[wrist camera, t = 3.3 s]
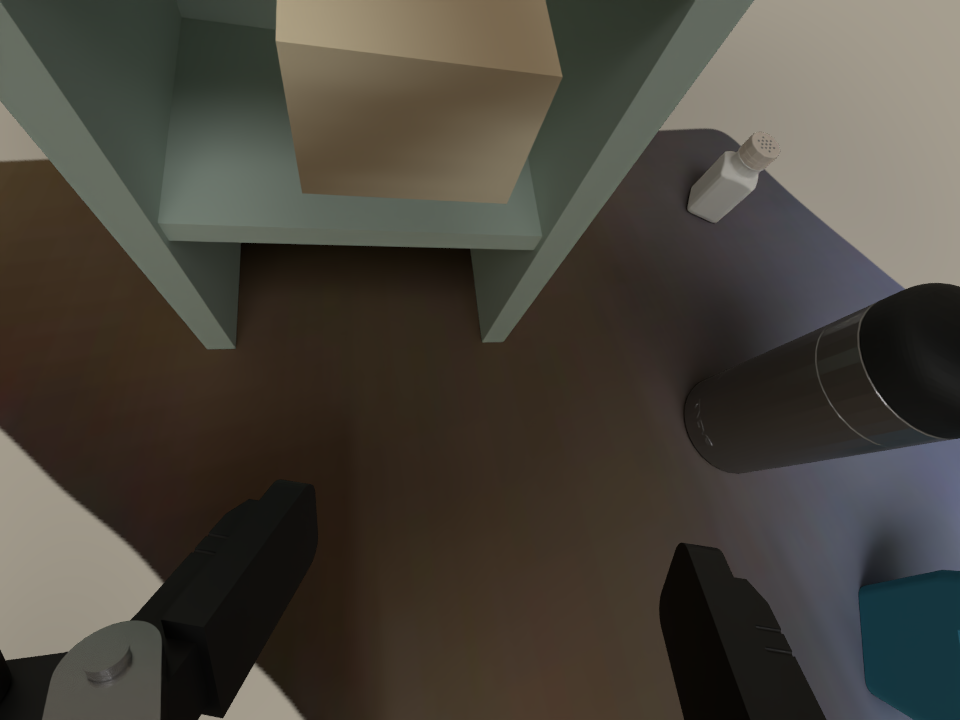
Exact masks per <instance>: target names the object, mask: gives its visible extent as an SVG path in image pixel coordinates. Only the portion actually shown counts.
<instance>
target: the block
mask: <svg viewBox="0 0 960 720" xmlns="http://www.w3.org/2000/svg"><path fill="white" fill-rule="evenodd" d="M859 606H860V619H861V632H862V644H863V657H864V670H865V681H866V685H867V687H868V689H869V691H870V692H871V693H872V694H873V695H875V696H876V697H878V698H879V699H881V700H883V701H884V702H886V703H888V704H889V705H891V706H892V707H894V708H896V709H897V710H899V711H901V712H902V713H904V714H905V715H907V716H909V717H910V718H912V719H914V720H960V571H950V570H940V571H935V572H930V573H925V574H920V575H915V576H910V577H905V578H900V579H895V580H890V581H886V582H881V583H876V584H871V585H866V586H862V587H861V588H860V590H859Z"/></svg>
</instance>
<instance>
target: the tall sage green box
mask: <svg viewBox="0 0 960 720" xmlns="http://www.w3.org/2000/svg"><path fill="white" fill-rule="evenodd" d="M545 1H546V5H547V10H548V14H549V19H550V23H551V28H552V32H553V36H554V41H555V45H556V50H557V54H558V59H559V63H560V67H561V72H562V76H563V77H562V80H561V82H560V84H559V86H558V89H557V91H556V93H555V95H554V98H553V100H552V102H551V105H550V107H549V109H548V111H547V114H546V116H545V118H544V121H543V123H542V125H541V127H540V130H539V132H538V134H537V137H536V139H535V141H534V143H533V146H532V148H531V150H530V152H529V155H528V157H527V159H526V162H525V164H524V166H523V168H522V171H521V173H520V175H519V178H518V180H517V182H516V184H515V187H514V189H513V191H512V194H511V196H510V198H509V200H508V203H507V204H498V203H479V202H459V201H440V200H420V199H401V198H381V197H362V196H342V195H323V194H303V193H302V189H301V184H300V178H299V172H298V166H297V161H296V155H295V149H294V144H293V138H292V132H291V126H290V121H289V115H288V109H287V104H286V98H285V92H284V86H283V81H282V75H281V69H280V64H279V58H278V52H277V46H276V7H277V0H0V101H1V102H2V103H3V105H4V106H5V107H6V108H7V110H8V111H9V112H10V113H11V114H12V116H13V117H14V118H15V119H16V120H17V122H18V123H19V124H20V125H21V126H22V127H23V129H24V130H25V131H26V132H27V134H28V135H29V136H30V137H31V138H32V140H33V141H34V142H35V143H36V144H37V146H38V147H39V148H40V149H41V150H42V151H43V152H44V154H45V155H46V156H47V157H48V159H49V160H50V161H51V162H52V163H53V165H54V166H55V167H56V168H57V169H58V171H59V172H60V173H61V174H62V175H63V177H64V178H65V179H66V180H67V181H68V183H69V184H70V185H71V186H72V187H73V189H74V190H75V191H76V192H77V193H78V195H79V196H80V197H81V198H82V199H83V201H84V202H85V203H86V204H87V205H88V207H89V208H90V209H91V210H92V211H93V213H94V214H95V215H96V216H97V217H98V219H99V220H100V221H101V222H102V223H103V225H104V226H105V227H106V228H107V229H108V231H109V232H110V233H111V234H112V235H113V237H114V238H115V239H116V240H117V241H118V243H119V244H120V245H121V246H122V247H123V249H124V250H125V251H126V252H127V253H128V255H129V256H130V257H131V258H132V259H133V261H134V262H135V263H136V264H137V265H138V267H139V268H140V269H141V270H142V271H143V273H144V274H145V275H146V276H147V277H148V279H149V280H150V281H151V282H152V283H153V285H154V286H155V287H156V288H157V289H158V291H159V292H160V293H161V294H162V295H163V297H164V298H165V299H166V300H167V301H168V303H169V304H170V305H171V306H172V307H173V309H174V310H175V311H176V312H177V313H178V315H179V316H180V317H181V318H182V319H183V321H184V322H185V323H186V324H187V325H188V327H189V328H190V329H191V330H192V331H193V333H194V334H195V335H196V336H197V337H198V339H199V340H200V341H201V342H202V343H203V345H204V346H205V347H206V348H207V349H236V332H237V312H238V292H239V273H240V253H241V243H278V244H317V245H355V246H393V247H432V248H470V251H471V259H472V267H473V275H474V283H475V291H476V299H477V307H478V315H479V323H480V331H481V339H482V342H504V340H505V339H506V338H507V336H508V335H509V334H510V332H511V331H512V329H513V328H514V327H515V325H516V324H517V323H518V321H519V320H520V319H521V317H522V316H523V314H524V313H525V312H526V310H527V309H528V308H529V306H530V305H531V304H532V302H533V301H534V300H535V298H536V297H537V295H538V294H539V293H540V291H541V290H542V289H543V287H544V286H545V285H546V283H547V282H548V280H549V279H550V278H551V276H552V275H553V274H554V272H555V271H556V270H557V268H558V267H559V265H560V264H561V263H562V261H563V260H564V259H565V257H566V256H567V255H568V253H569V252H570V250H571V249H572V248H573V246H574V245H575V244H576V242H577V241H578V240H579V238H580V237H581V235H582V234H583V233H584V231H585V230H586V229H587V227H588V226H589V225H590V223H591V222H592V220H593V219H594V218H595V216H596V215H597V214H598V212H599V211H600V210H601V208H602V207H603V205H604V204H605V203H606V201H607V200H608V199H609V197H610V196H611V195H612V193H613V192H614V191H615V189H616V188H617V186H618V185H619V184H620V182H621V181H622V180H623V178H624V177H625V176H626V174H627V173H628V171H629V170H630V169H631V167H632V166H633V165H634V163H635V162H636V161H637V159H638V158H639V156H640V155H641V154H642V152H643V151H644V150H645V148H646V147H647V146H648V144H649V143H650V141H651V140H652V139H653V137H654V136H655V135H656V133H657V132H658V131H659V129H660V128H661V126H662V125H663V124H664V122H665V121H666V120H667V118H668V117H669V115H670V114H671V113H672V111H673V110H674V109H675V107H676V106H677V105H678V103H679V102H680V101H681V99H682V98H683V96H684V95H685V94H686V92H687V91H688V90H689V88H690V87H691V86H692V84H693V83H694V81H695V80H696V79H697V77H698V76H699V75H700V73H701V72H702V71H703V69H704V68H705V67H706V65H707V64H708V62H709V61H710V60H711V58H712V57H713V56H714V54H715V53H716V52H717V50H718V49H719V47H720V46H721V45H722V43H723V42H724V41H725V39H726V38H727V37H728V35H729V34H730V32H731V31H732V30H733V28H734V27H735V26H736V24H737V23H738V21H739V20H740V19H741V17H742V16H743V15H744V13H745V12H746V10H747V9H748V8H749V7H750V5H751V4H752V2H753V1H754V0H545Z"/></svg>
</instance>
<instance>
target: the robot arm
mask: <svg viewBox="0 0 960 720" xmlns="http://www.w3.org/2000/svg"><path fill="white" fill-rule="evenodd" d="M685 423H686V428H687V431H688V434H689V437H690V439H691V441H692V442H693V444H694V446H695V448H696V449H697V450H698V452H699V453H700V454H701V455H702V456H703V457H704V458H705V459H706V460H707V461H708V462H709V463H710V464H712V465H714V466H715V467H717V468H719V469H721V470H723V471H726V472H729V473H737V474H739V473H747V472H753V471H759V470H766V469H772V468H780V467H786V466H792V465H798V464H804V463H811V462H817V461H823V460H829V459H835V458H842V457H848V456H854V455H860V454H867V453H873V452H879V451H885V450H891V449H898V448H902V447H908V446H915V445H921V444H927V443H933V442H939V441H946V440H952V439H958V438H960V287H959V286H955V285H951V284H943V283H928V284H922V285H917V286H914V287H911V288H908V289H905V290H903V291H900V292H898V293H896V294H894V295H891V296H889V297H887V298H885V299H883V300H880V301H878V302H877V303H875V304H872V305H870V306H868V307H866V308H863V309H861V310H859V311H857V312H855V313H852V314H850V315H848V316H846V317H843V318H841V319H839V320H837V321H835V322H833V323H831V324H828V325H826V326H824V327H822V328H819V329H817V330H815V331H813V332H811V333H808V334H806V335H804V336H802V337H799V338H797V339H795V340H793V341H790V342H788V343H786V344H784V345H782V346H779V347H777V348H775V349H773V350H770V351H768V352H766V353H764V354H761V355H759V356H757V357H755V358H753V359H750V360H748V361H746V362H744V363H741V364H739V365H737V366H735V367H732V368H730V369H728V370H725V371H723V372H721V373H719V374H717V375H714V376H712V377H710V378H708V379H705V380H703V381H702V382H700V383H699V384H697V385H696V386H695V387H694V388H693V389H692V390H691V392H690V394H689V396H688V398H687V401H686V405H685ZM317 542H318V528H317V513H316V498H315V489H314V486H313V485H312V484H306V483H300V482H293V481H287V480H277V481H275V482H274V483H273V484H272V486H271V487H270V488H269V489H268V490H267V492H266V493H265V494H264V495H263V496H262V498H261V499H260V500H259V501H258V500H251V499H249V500H247V501H245V502H244V503H242V504H241V505H239V506H237V507H236V508H234V509H233V510H231V511H229V512H228V513H226V514H225V515H224V516H223V518H222V519H221V520H220V521H219V522H218V523H217V524H216V525H215V527H214V528H213V529H212V530H211V531H210V532H209V535H208V537H205V538H204V539H203V540H202V541H201V542H200V543H199V544H198V546H197V547H196V548H195V551H194V553H190V555H189V556H188V557H187V558H186V559H185V560H184V561H183V562H182V564H181V565H180V566H179V567H178V568H177V569H176V570H175V571H174V573H173V574H172V575H171V576H170V577H169V578H168V579H167V580H166V581H165V583H164V584H163V585H162V586H161V587H160V588H159V589H158V591H157V592H156V593H155V594H154V595H153V596H152V597H151V598H150V600H149V601H148V602H147V603H146V604H145V605H144V606H143V607H142V608H141V610H140V611H139V612H138V613H137V614H136V615H135V616H134V617H133V618H132V619H131V620H130V621H125V622H120V623H116V624H112V625H110V626H107V627H105V628H103V629H100V630H98V631H97V632H94V633H93V634H91V635H90V636H88V637H86V638H85V639H83V640H82V641H81V642H79V643H78V644H77V645H75V646H74V647H73V648H72V649H71V650H70V651H69V652H65V653H58V654H50V655H43V656H35V657H28V658H21V659H13V660H6V661H5V659H4V657H3V654H2V653H1V650H0V720H198V719H199V717H200V716H201V714H204V715H209V716H214V717H219V718H223V717H224V716H225V714H226V712H227V710H228V709H229V707H230V705H231V703H232V702H233V700H234V698H235V696H236V695H237V693H238V691H239V689H240V688H241V686H242V684H243V682H244V680H245V679H246V677H247V675H248V674H249V672H250V670H251V668H252V667H253V665H254V663H255V661H256V660H257V658H258V656H259V654H260V653H261V651H262V649H263V647H264V646H265V644H266V642H267V640H268V639H269V637H270V635H271V633H272V632H273V630H274V628H275V626H276V625H277V623H278V621H279V619H280V618H281V616H282V614H283V612H284V611H285V609H286V607H287V605H288V604H289V602H290V600H291V598H292V597H293V595H294V593H295V591H296V590H297V588H298V586H299V584H300V583H301V581H302V579H303V577H304V576H305V574H306V572H307V570H308V569H309V567H310V565H311V563H312V561H313V558H314V555H315V552H316V548H317ZM659 614H660V624H661V628H662V632H663V636H664V640H665V644H666V648H667V652H668V656H669V660H670V664H671V668H672V672H673V676H674V681H675V685H676V689H677V693H678V697H679V701H680V705H681V709H682V713H683V717H684V720H826V718H825V716H824V714H823V712H822V710H821V708H820V706H819V704H818V702H817V700H816V698H815V696H814V694H813V692H812V690H811V688H810V686H809V684H808V682H807V680H806V678H805V676H804V674H803V672H802V670H801V668H800V666H799V664H798V662H797V660H796V658H795V657H793V656H792V650H791V648H790V646H789V644H788V642H787V640H786V638H785V636H784V634H781V628H780V626H779V624H778V622H777V620H776V618H775V616H774V614H773V612H772V610H771V608H770V606H769V604H768V603H767V601H766V600H765V599H764V598H763V597H762V596H761V595H760V594H759V593H758V592H757V591H756V589H755V588H754V587H753V586H752V585H751V584H750V583H749V582H748V581H747V580H746V579H741V578H734V577H733V575H732V572H731V570H730V568H729V566H728V564H727V561H726V559H725V557H724V555H723V553H722V552H721V550H719V549H718V548H713V547H706V546H700V545H693V544H687V543H680V544H679V545H678V546H677V548H676V550H675V553H674V556H673V559H672V562H671V565H670V568H669V571H668V574H667V577H666V580H665V583H664V586H663V589H662V592H661V596H660V605H659Z"/></svg>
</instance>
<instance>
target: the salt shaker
mask: <svg viewBox="0 0 960 720" xmlns="http://www.w3.org/2000/svg"><path fill="white" fill-rule="evenodd" d="M779 153H780V147H779V144H778V143H777V141H776V140H775V139H774V138H773V137H772V136H770V135H769V134H767V133H764V132H757V133H754V134H753V135H752V136H751V137H750V138H749V139H748V140H747V141H746V142H745V143H744V144H743V145H742V146H741V147H740V148H739V150H738V152H733V151H726V152H724V154H723V155H722V156H721V157H720V158H719V159H718V160H717V161H716V162H715V163H714V164H713V165H712V166H711V167H710V168H709V169H708V170H707V171H706V173H705V174H704V175H703V176H702V177H701V178H700V179H699V180H698V181H697V182H696V183H695V184H694V185H693V186H692V188H691V191H690V196H689V201H688V206H687V210H688V211H689V212H690V213H692V214H694V215H697V216H699V217H701V218H703V219H705V220H707V221H709V222H712V223H716V222H718V221H719V220H720V219H721V218H722V217H724V216H725V215H726V214H727V213H728V212H729V211H730V210H732V209H733V208H734V207H735V206H736V205H737V204H738V203H739V202H741V201H742V200H743V199H744V198H745V197H746V196H747V195H749V194H750V193H751V192H752V191H753V190H754V189H755V187H756V184H757V180H758V173H759V172H760V171H762V170H764V169H765V168H766V167H767V166H768V165H769V164H770V163H771V162H772V161H773V160H775V159H776V158H777V157H778V155H779Z"/></svg>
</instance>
